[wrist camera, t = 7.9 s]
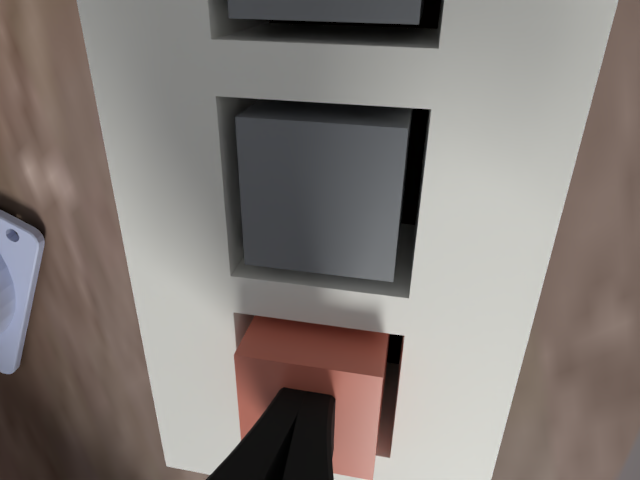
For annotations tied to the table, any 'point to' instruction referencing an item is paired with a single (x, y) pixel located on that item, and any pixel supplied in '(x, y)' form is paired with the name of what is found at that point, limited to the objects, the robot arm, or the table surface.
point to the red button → (317, 380)
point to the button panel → (415, 240)
